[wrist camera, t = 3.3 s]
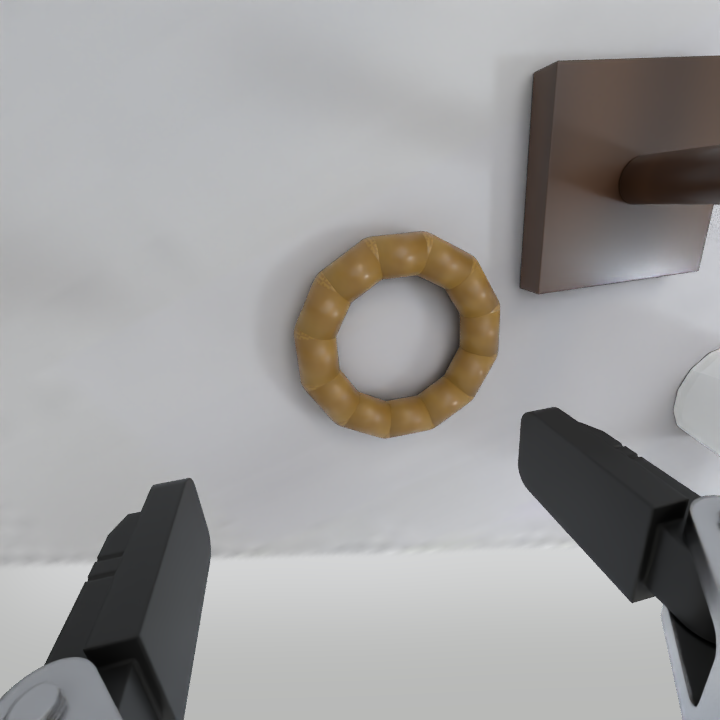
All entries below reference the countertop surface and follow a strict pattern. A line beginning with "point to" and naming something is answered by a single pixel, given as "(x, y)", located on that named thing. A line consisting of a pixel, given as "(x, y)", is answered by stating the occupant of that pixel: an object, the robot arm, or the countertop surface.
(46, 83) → the countertop surface
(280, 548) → the countertop surface
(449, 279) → the ring
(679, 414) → the foam cup
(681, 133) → the post
